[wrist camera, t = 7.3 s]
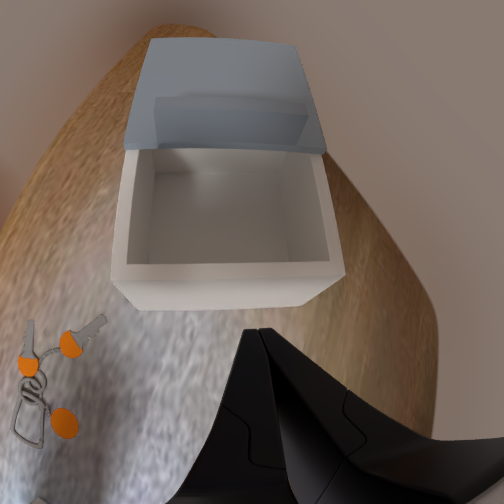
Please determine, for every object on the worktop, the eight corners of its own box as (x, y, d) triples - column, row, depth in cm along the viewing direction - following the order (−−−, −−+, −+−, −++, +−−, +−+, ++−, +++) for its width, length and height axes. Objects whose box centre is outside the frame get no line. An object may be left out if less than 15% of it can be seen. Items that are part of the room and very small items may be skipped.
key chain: (77, 469, 17) (73, 472, 16) (3, 427, 16) (-2, 428, 15) (115, 319, 21) (112, 317, 21) (39, 287, 21) (35, 284, 20)
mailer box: (300, 306, 24) (345, 275, 16) (139, 310, 22) (110, 280, 14) (283, 172, 28) (309, 110, 21) (147, 171, 26) (135, 104, 18)
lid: (323, 154, 19) (342, 120, 16) (124, 150, 17) (115, 112, 14) (293, 50, 23) (302, 21, 20) (151, 44, 21) (150, 13, 18)
